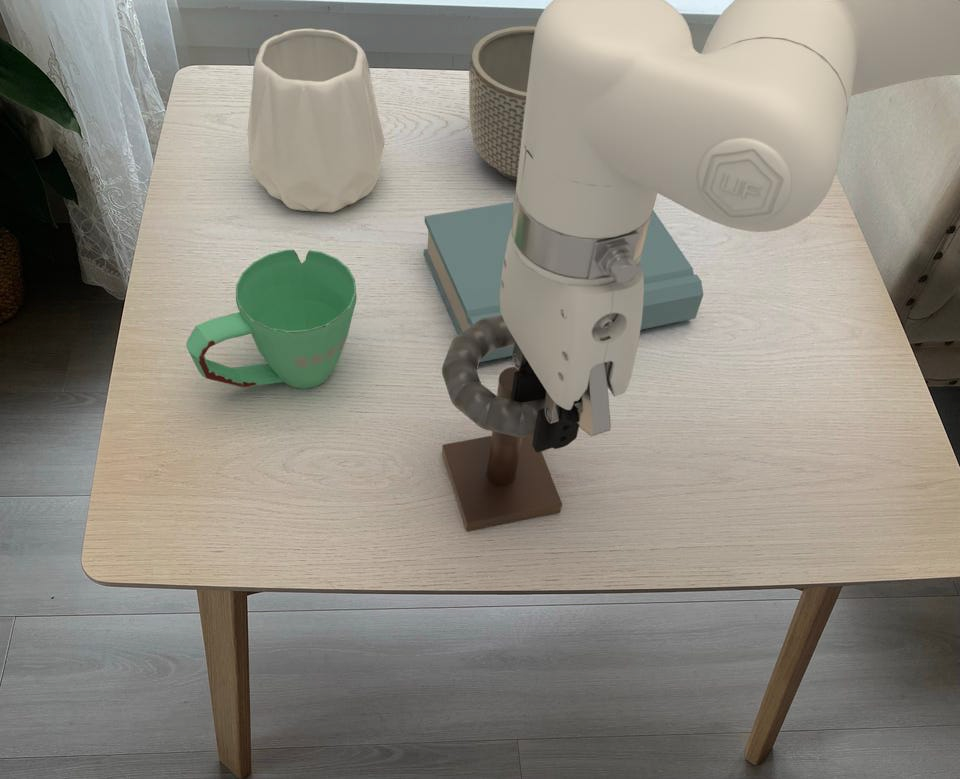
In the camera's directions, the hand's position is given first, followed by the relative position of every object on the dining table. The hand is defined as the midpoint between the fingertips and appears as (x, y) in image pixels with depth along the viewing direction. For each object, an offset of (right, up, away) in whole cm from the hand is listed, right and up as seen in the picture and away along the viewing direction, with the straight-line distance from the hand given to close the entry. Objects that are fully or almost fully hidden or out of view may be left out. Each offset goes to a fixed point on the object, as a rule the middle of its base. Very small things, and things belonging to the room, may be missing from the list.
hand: (542, 422), depth 67 cm
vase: (-22, +25, +36) cm, 49 cm away
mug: (-22, +3, +18) cm, 29 cm away
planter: (+1, +28, +41) cm, 49 cm away
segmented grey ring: (-2, +4, +2) cm, 4 cm away
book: (+3, +12, +28) cm, 31 cm away
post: (-3, -5, +12) cm, 14 cm away
